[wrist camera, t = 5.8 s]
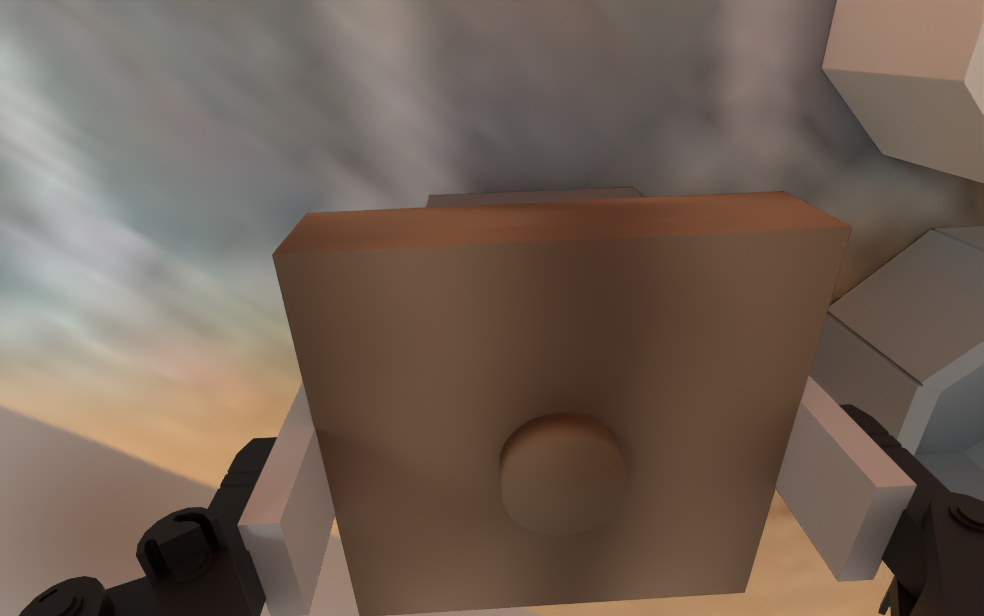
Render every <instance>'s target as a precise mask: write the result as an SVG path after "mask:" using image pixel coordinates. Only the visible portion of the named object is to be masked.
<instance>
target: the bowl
mask: <svg viewBox="0 0 984 616" xmlns="http://www.w3.org/2000/svg"><path fill="white" fill-rule="evenodd" d="M822 70H823V71H824V73H825V74H826V75H827V77H828V78H829V80H830V81H831V82H832V84H833V85H834V87H835V88H836V90H837V91H838V92H839V94H840V95H841V97H842V98H843V99H844V101H845V102H846V104H847V105H848V106H849V108H850V109H851V111H852V112H853V114H854V115H855V116H856V118H857V119H858V121H859V122H860V123H861V125H862V126H863V128H864V129H865V131H866V132H867V133H868V135H869V136H870V138H871V139H872V140H873V142H874V143H875V145H876V146H877V147H878V149H879V150H880V152H881V153H882V154H883V155H887V156H890V157H894V158H897V159H901V160H904V161H908V162H911V163H915V164H918V165H922V166H925V167H929V168H932V169H936V170H939V171H943V172H946V173H949V174H953V175H956V176H960V177H963V178H967V179H970V180H974V181H977V182H981V183H984V0H837V2H836V7H835V11H834V16H833V20H832V25H831V29H830V34H829V38H828V42H827V47H826V51H825V56H824V60H823V65H822Z"/></svg>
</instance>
